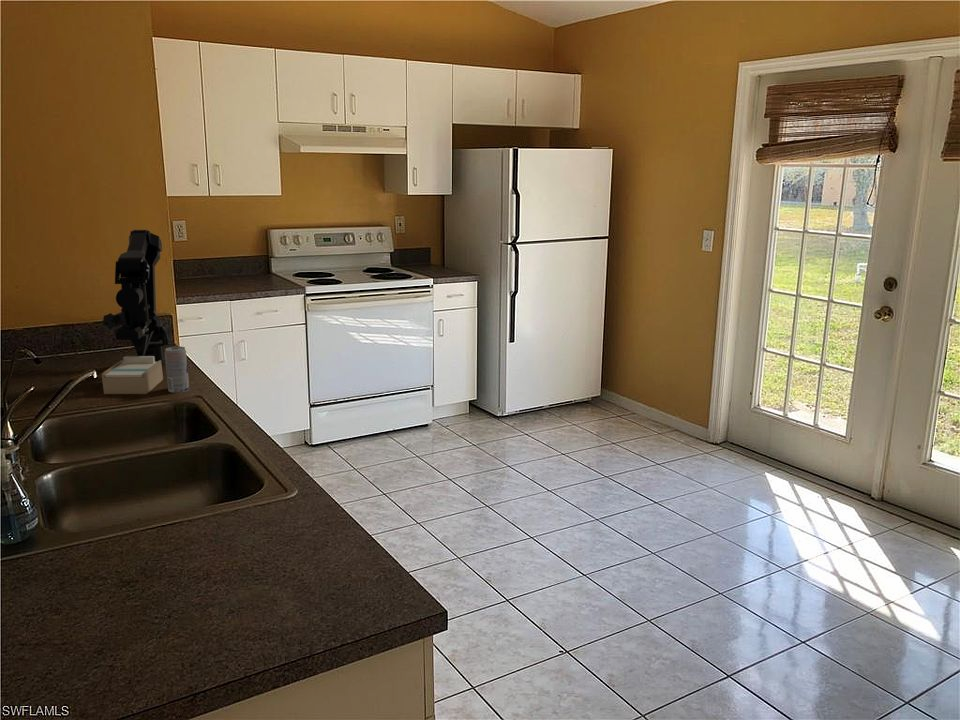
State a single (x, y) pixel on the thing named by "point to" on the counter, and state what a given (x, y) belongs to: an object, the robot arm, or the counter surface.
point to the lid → (132, 366)
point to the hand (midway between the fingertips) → (141, 357)
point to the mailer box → (133, 381)
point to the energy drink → (176, 369)
